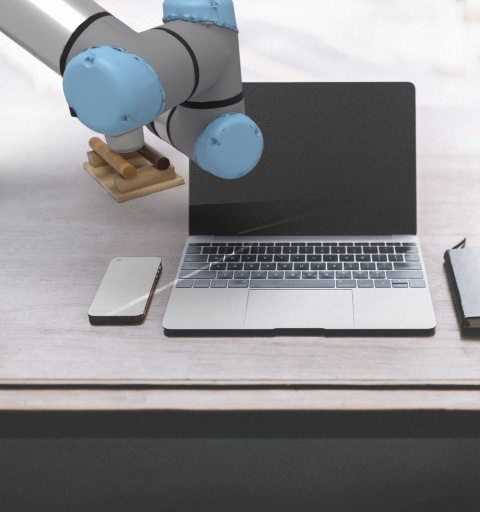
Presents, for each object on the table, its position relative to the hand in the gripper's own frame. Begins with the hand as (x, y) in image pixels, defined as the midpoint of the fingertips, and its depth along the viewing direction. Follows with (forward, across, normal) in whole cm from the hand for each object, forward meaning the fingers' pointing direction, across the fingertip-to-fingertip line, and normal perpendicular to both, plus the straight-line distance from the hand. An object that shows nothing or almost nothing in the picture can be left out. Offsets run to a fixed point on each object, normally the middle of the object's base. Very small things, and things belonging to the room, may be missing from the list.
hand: (120, 81), depth 94 cm
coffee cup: (+11, +2, -14) cm, 18 cm away
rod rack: (+11, +2, -20) cm, 23 cm away
